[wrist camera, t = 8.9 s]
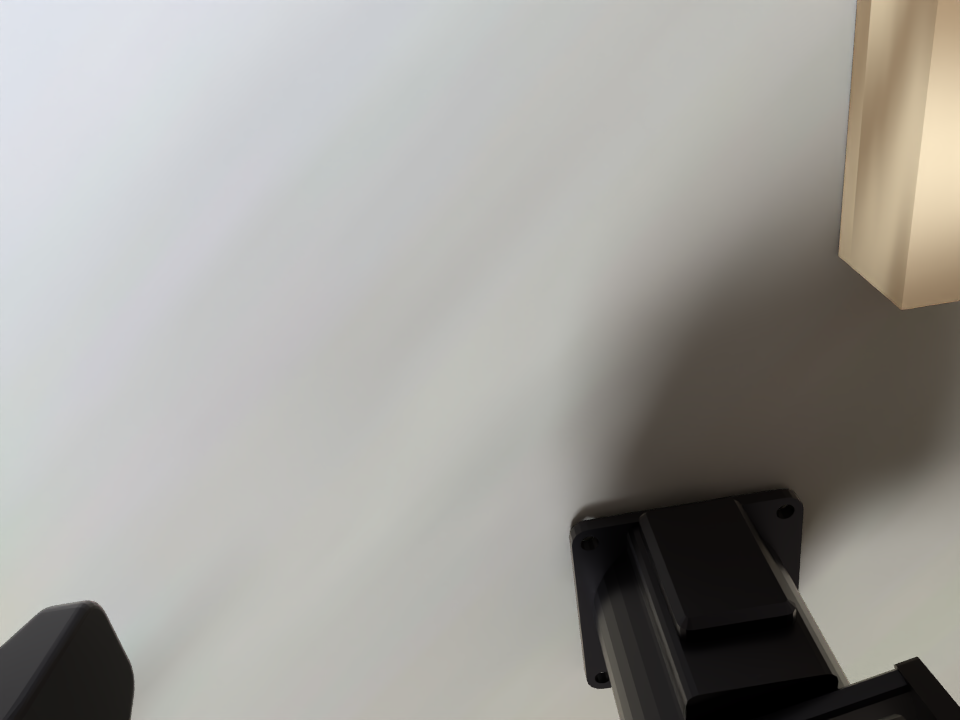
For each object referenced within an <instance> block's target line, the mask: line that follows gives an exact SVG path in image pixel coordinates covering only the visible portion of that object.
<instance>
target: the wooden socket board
mask: <svg viewBox="0 0 960 720" xmlns="http://www.w3.org/2000/svg"><path fill="white" fill-rule="evenodd" d="M838 256H839V257H840V258H841V259H843V260H844V261H845V262H846V263H847V264H848V265H850V266H851V267H852V268H853V269H854V270H855V271H857V272H858V273H859V274H860V275H861V276H862V277H864V278H865V279H866V280H867V281H868V282H869V283H870V284H872V285H873V286H874V287H875V288H876V289H877V290H879V291H880V292H881V293H882V294H883V295H884V296H886V297H887V298H888V299H889V300H890V301H891V302H893V303H894V304H895V305H896V306H897V307H898V308H900V309H901V310H906V309H912V308H918V307H924V306H931V305H937V304H943V303H949V302H955V301H960V0H857V13H856V27H855V40H854V53H853V67H852V80H851V94H850V107H849V120H848V134H847V147H846V161H845V174H844V187H843V201H842V214H841V228H840V241H839V254H838Z"/></svg>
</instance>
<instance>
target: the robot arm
mask: <svg viewBox="0 0 960 720" xmlns="http://www.w3.org/2000/svg"><path fill="white" fill-rule="evenodd" d="M783 505H787V506H786V507H785V508H783V509H780V510H778V509H779V508H780V507H781V506H783ZM802 523H803V505H802V502H801V501H800V499H799V498H798V496H797V495H796V494H795V492H794V491H792V490H790V489H776V490H769V491H763V492H757V493H751V494H745V495H739V496H732V497H726V498H720V499H714V500H708V501H702V502H695V503H689V504H683V505H677V506H671V507H665V508H658V509H652V510H646V511H640V512H634V513H628V514H621V515H615V516H609V517H603V518H597V519H591V520H585V521H582V522H579V523H577V524H576V525H575V526H573V528H572V529H571V531H570V535H569V539H570V547H571V556H572V565H573V574H574V582H575V591H576V600H577V609H578V617H579V626H580V635H581V644H582V652H583V661H584V670H585V674H586V678H587V682H588V684H589V685H590V686H591V687H593V688H597V689H604V688H611V687H612V690H613V694H614V697H615V701H616V705H617V709H618V713H619V717H620V720H960V707H959V706H958V704H957V703H956V702H955V701H954V700H953V698H952V697H951V696H950V695H949V694H948V692H947V691H946V690H945V689H944V688H943V686H942V685H941V684H940V683H939V682H938V680H937V679H936V678H935V677H934V676H933V674H932V673H931V672H930V671H929V670H928V668H927V667H926V666H925V665H924V664H923V662H922V661H921V660H920V659H919V658H918V657H915V658H912V659H909V660H906V661H903V662H901V663H898V664H895V665H894V668H895V669H893V670H891V671H888V672H885V673H882V674H879V675H876V676H873V677H870V678H868V679H865V680H862V681H859V682H856V683H853V684H850V683H849V681H848V679H847V677H846V676H845V674H844V672H843V670H842V669H841V667H840V665H839V663H838V661H837V660H836V658H835V656H834V654H833V652H832V651H831V649H830V647H829V645H828V643H827V642H826V640H825V638H824V636H823V635H822V633H821V631H820V629H819V627H818V626H817V624H816V622H815V620H814V618H813V617H812V615H811V613H810V611H809V609H808V608H807V606H806V604H805V602H804V601H803V599H802V597H801V595H800V593H799V592H798V586H799V570H800V554H801V538H802ZM589 536H590V537H594V538H593V539H591V540H589V541H582V540H583V539H584V538H586V537H589ZM601 672H602V673H601ZM133 698H134V674H133V670H132V666H131V663H130V661H129V659H128V657H127V655H126V653H125V651H124V649H123V647H122V645H121V643H120V641H119V639H118V637H117V635H116V633H115V631H114V629H113V627H112V625H111V623H110V621H109V619H108V617H107V615H106V613H105V611H104V610H103V608H102V607H101V606H100V605H99V604H98V603H96V602H94V601H80V602H73V603H67V604H61V605H55V606H51V607H48V608H45V609H43V610H42V611H40V612H39V613H38V614H37V615H35V616H34V617H33V618H32V619H31V620H30V621H29V622H28V623H27V624H25V625H24V626H23V627H22V628H21V629H20V630H19V631H18V632H17V633H15V634H14V635H13V636H12V637H11V638H10V639H9V640H8V641H7V642H5V643H4V644H3V645H2V646H1V647H0V720H131V712H132V705H133Z"/></svg>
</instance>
